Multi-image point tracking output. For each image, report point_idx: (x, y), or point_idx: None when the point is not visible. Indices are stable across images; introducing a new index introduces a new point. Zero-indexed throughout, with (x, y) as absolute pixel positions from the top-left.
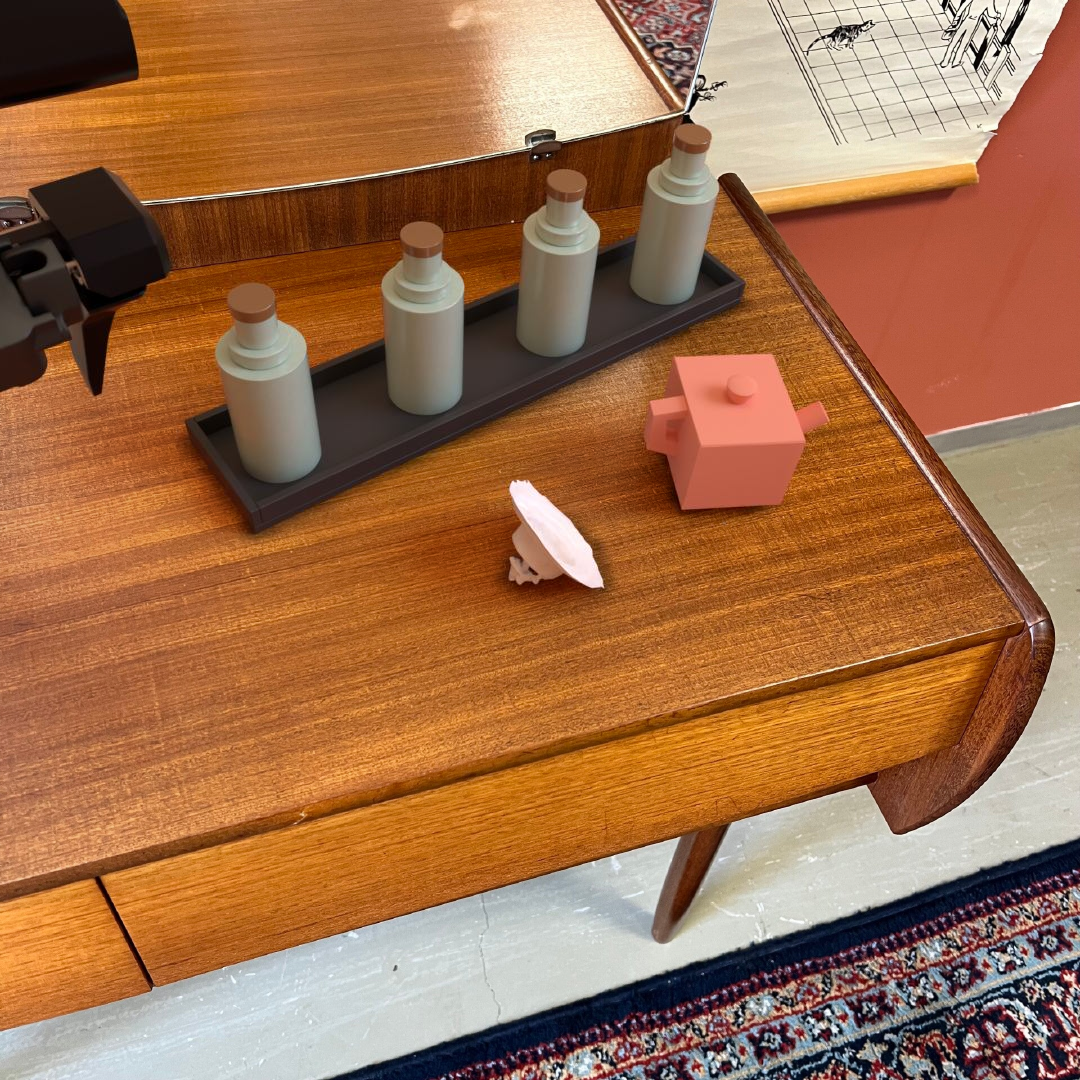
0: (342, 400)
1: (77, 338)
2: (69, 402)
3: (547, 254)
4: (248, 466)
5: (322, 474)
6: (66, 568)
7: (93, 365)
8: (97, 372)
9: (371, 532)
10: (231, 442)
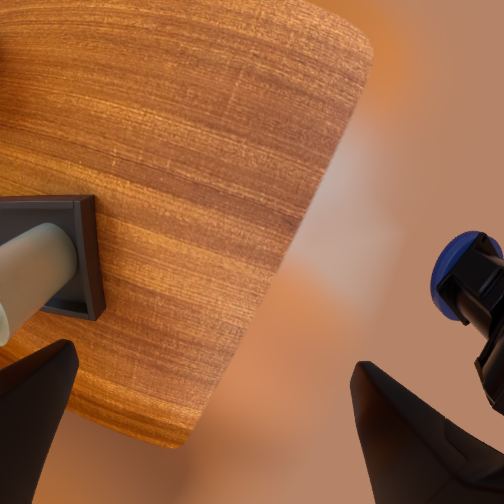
0: None
1: (13, 421)
2: (172, 384)
3: None
4: (69, 252)
5: (26, 206)
6: (235, 253)
7: (22, 371)
8: (31, 360)
9: (32, 148)
10: (78, 286)
